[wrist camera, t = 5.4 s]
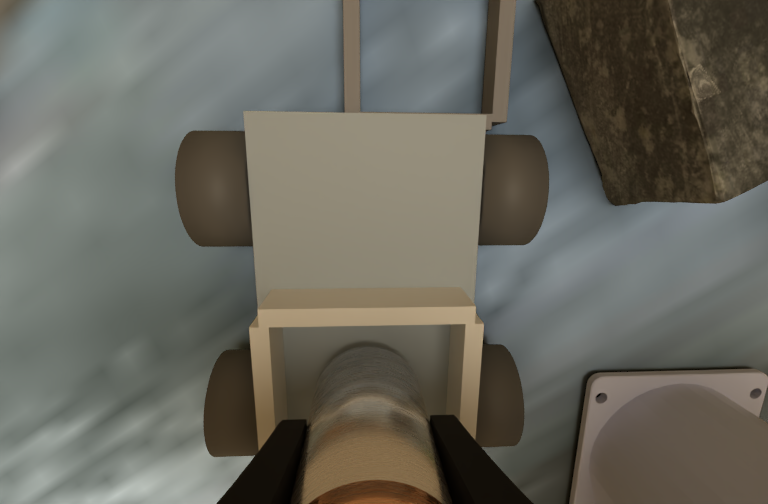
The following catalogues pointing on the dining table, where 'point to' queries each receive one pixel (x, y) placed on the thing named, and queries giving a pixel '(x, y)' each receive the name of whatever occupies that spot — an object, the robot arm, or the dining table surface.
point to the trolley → (366, 246)
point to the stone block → (668, 93)
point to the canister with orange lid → (369, 436)
